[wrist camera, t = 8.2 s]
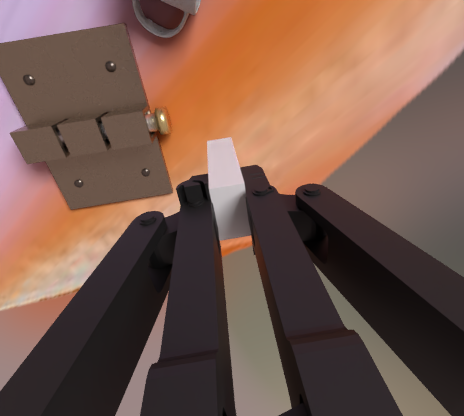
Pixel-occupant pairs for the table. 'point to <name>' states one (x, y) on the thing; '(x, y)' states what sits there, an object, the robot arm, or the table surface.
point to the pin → (154, 122)
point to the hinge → (85, 114)
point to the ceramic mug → (188, 3)
